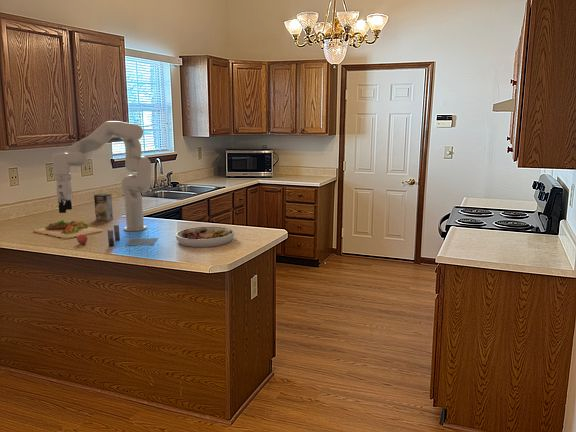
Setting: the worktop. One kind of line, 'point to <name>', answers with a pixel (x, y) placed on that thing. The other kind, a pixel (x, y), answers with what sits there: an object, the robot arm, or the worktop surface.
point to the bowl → (205, 236)
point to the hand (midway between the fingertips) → (65, 211)
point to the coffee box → (103, 206)
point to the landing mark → (141, 242)
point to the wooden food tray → (68, 229)
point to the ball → (82, 239)
